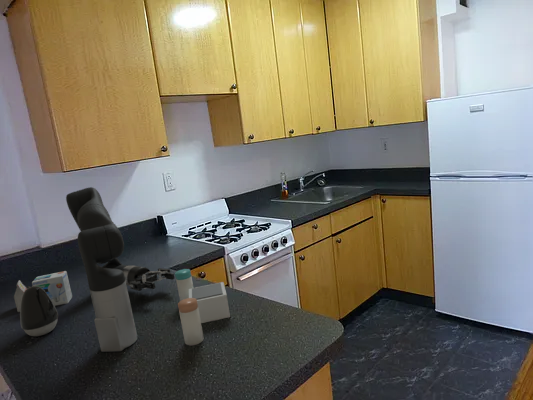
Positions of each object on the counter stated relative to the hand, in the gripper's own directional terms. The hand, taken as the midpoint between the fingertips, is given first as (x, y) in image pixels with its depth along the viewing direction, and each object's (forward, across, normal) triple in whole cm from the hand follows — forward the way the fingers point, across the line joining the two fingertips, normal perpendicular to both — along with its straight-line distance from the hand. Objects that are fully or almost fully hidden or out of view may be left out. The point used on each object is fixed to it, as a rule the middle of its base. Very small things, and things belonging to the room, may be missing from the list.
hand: (164, 281), depth 134 cm
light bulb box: (-43, -18, +7) cm, 47 cm away
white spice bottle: (+30, -17, +7) cm, 35 cm away
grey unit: (+24, -3, +6) cm, 25 cm away
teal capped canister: (+10, 0, +6) cm, 12 cm away
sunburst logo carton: (-52, -25, +7) cm, 58 cm away
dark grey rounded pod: (-22, -32, +7) cm, 40 cm away
